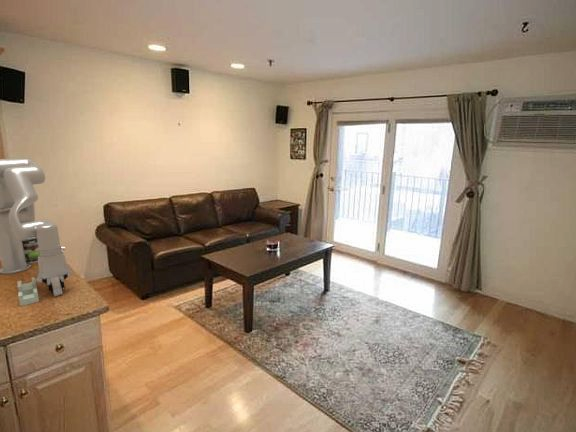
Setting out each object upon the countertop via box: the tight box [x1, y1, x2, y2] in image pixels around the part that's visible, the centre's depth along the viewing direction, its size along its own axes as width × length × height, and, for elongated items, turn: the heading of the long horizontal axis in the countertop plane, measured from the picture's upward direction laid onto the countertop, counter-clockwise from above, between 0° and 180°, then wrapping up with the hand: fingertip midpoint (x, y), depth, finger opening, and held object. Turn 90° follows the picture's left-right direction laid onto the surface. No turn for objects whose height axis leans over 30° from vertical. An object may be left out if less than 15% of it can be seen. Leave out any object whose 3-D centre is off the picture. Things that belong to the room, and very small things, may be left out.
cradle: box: [16, 277, 40, 307], centre depth 142 cm, size 18×6×4 cm, turn 40°
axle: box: [50, 276, 63, 297], centre depth 147 cm, size 16×3×3 cm, turn 40°
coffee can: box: [22, 238, 40, 264], centre depth 179 cm, size 10×10×14 cm
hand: (57, 290), depth 145 cm, fingers closed on axle, 3 cm apart
